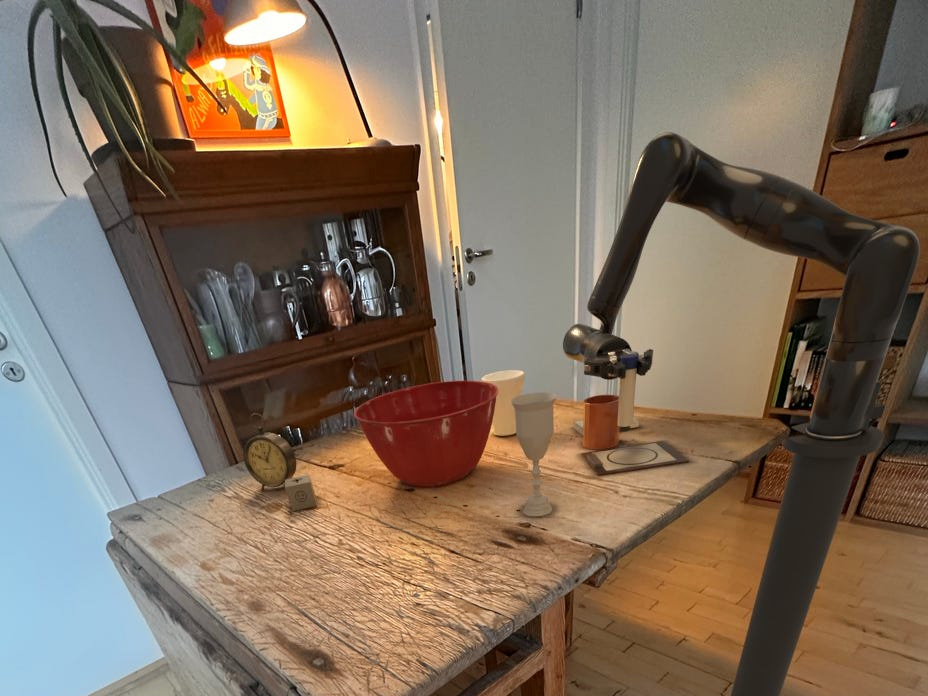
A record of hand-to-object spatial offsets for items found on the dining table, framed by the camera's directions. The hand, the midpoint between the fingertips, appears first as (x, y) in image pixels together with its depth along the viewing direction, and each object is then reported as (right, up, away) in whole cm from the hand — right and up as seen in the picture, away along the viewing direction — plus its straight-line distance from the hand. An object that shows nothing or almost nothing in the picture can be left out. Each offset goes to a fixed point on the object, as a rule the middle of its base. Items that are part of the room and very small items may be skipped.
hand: (634, 370), depth 92 cm
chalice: (-18, -26, -3) cm, 32 cm away
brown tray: (+3, -12, +10) cm, 16 cm away
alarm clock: (-72, -13, +26) cm, 77 cm away
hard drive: (+3, +1, +28) cm, 28 cm away
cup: (-19, +3, +35) cm, 40 cm away
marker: (+1, -7, +9) cm, 11 cm away
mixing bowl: (-36, -13, +18) cm, 42 cm away
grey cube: (-63, -20, +15) cm, 68 cm away
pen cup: (0, -6, +19) cm, 20 cm away
